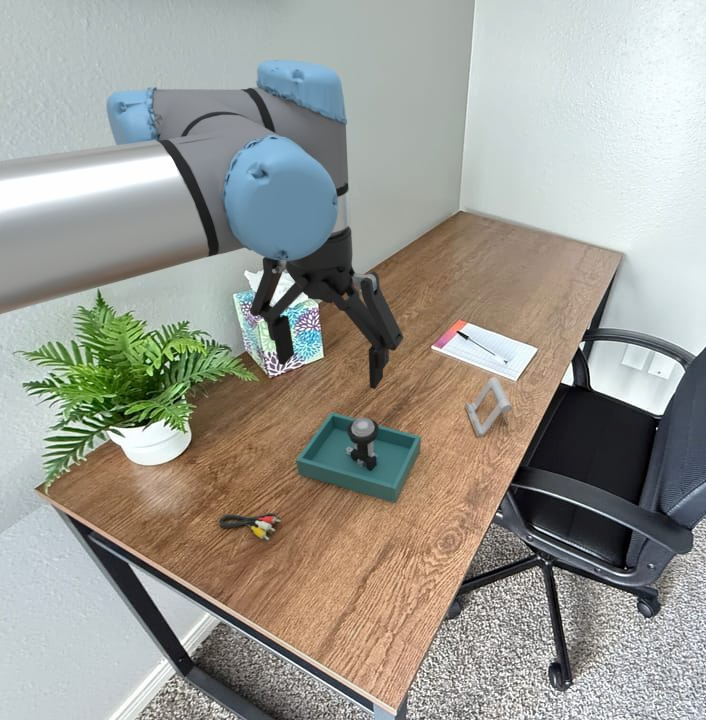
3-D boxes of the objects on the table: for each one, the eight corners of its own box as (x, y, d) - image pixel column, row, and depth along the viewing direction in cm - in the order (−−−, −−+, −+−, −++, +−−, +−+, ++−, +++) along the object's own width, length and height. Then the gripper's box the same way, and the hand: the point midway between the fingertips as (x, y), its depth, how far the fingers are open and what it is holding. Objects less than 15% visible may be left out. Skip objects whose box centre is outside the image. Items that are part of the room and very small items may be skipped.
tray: (298, 474, 84) (295, 460, 81) (332, 426, 93) (331, 411, 91) (395, 503, 81) (395, 489, 79) (420, 450, 91) (420, 436, 88)
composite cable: (215, 527, 74) (212, 519, 73) (235, 503, 78) (232, 494, 76) (271, 546, 73) (268, 538, 71) (288, 520, 76) (286, 512, 75)
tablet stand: (464, 408, 101) (468, 380, 96) (497, 403, 104) (503, 375, 99) (475, 437, 95) (480, 409, 90) (511, 432, 98) (517, 403, 92)
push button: (338, 462, 86) (334, 425, 80) (356, 443, 90) (353, 407, 84) (368, 477, 84) (365, 441, 78) (385, 458, 88) (384, 421, 82)
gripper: (432, 236, 53) (424, 376, 66) (237, 193, 56) (266, 335, 69) (409, 263, 48) (405, 410, 61) (193, 214, 50) (233, 364, 63)
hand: (331, 370), depth 65 cm, fingers open, 13 cm apart
